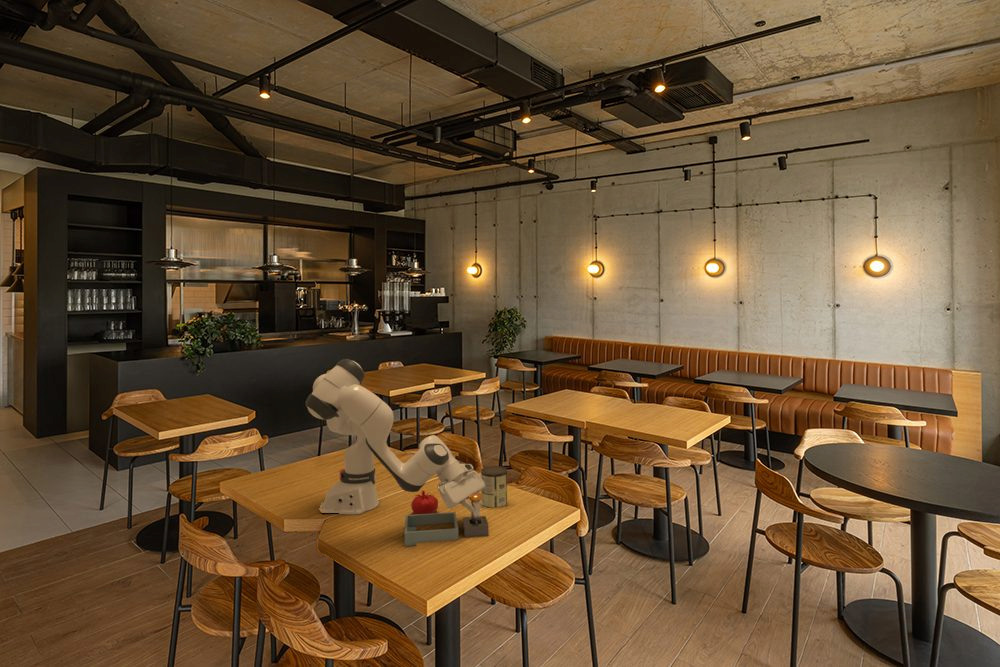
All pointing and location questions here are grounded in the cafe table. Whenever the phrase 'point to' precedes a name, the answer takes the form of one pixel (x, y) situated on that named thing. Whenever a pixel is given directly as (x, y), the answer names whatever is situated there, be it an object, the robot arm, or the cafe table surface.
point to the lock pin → (475, 501)
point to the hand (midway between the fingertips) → (477, 508)
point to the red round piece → (424, 504)
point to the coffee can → (494, 487)
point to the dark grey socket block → (475, 527)
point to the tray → (429, 535)
